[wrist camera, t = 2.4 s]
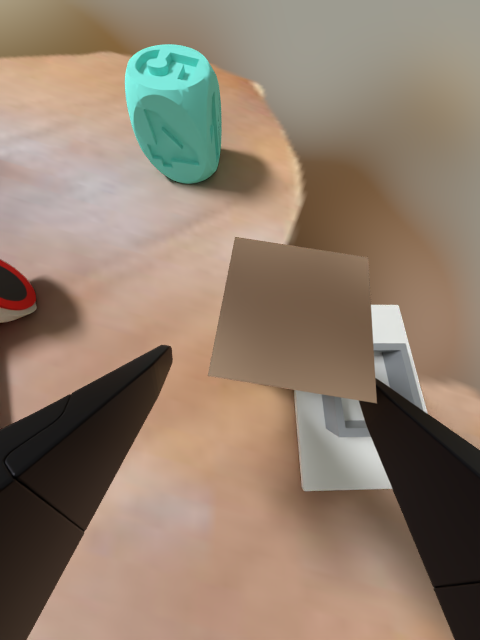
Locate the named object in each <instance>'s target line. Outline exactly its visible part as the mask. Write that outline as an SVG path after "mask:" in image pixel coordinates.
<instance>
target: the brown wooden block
mask: <svg viewBox="0 0 480 640" xmlns="http://www.w3.org/2000/svg"><path fill="white" fill-rule="evenodd" d="M369 281H370V280H369V264H368V257H362V256H355V255H349V254H342V253H336V252H329V251H323V250H316V249H310V248H303V247H297V246H290V245H284V244H277V243H271V242H265V241H258V240H252V239H245V238H239V237H235V240H234V245H233V250H232V256H231V261H230V266H229V271H228V276H227V281H226V286H225V291H224V296H223V301H222V306H221V311H220V316H219V322H218V327H217V332H216V337H215V342H214V347H213V352H212V357H211V362H210V367H209V372H208V376H212V377H218V378H224V379H230V380H236V381H242V382H249V383H255V384H261V385H267V386H273V387H279V388H286V389H292V390H298V391H304V392H310V393H316V394H323V395H329V396H335V397H341V398H347V399H353V400H360V401H366V402H372V403H377V398H376V381H375V364H374V347H373V330H372V314H371V297H370V282H369Z"/></svg>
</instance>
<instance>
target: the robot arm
mask: <svg viewBox="0 0 480 640" xmlns="http://www.w3.org/2000/svg"><path fill="white" fill-rule="evenodd" d="M172 360H173V358H172V348H171V346H167V345H160V346H158V347H157V348H155V349H153V350H151V351H149V352H147V353H145V354H144V355H142V356H140V357H138V358H136V359H134V360H132V361H131V362H129V363H127V364H125V365H123V366H121V367H119V368H118V369H116V370H114V371H112V372H110V373H108V374H106V375H105V376H103V377H101V378H99V379H97V380H95V381H93V382H92V383H90V384H88V385H86V386H84V387H82V388H80V389H79V390H77V391H75V392H73V393H72V394H69V395H67V396H65V397H64V398H62V399H60V400H58V401H56V402H54V403H52V404H50V405H49V406H47V407H45V408H43V409H41V410H39V411H37V412H35V413H33V414H31V415H29V416H27V417H25V418H23V419H21V420H19V421H17V422H15V423H13V424H11V425H9V426H7V427H5V428H2V429H0V640H27V638H28V636H29V634H30V632H31V630H32V629H33V627H34V625H35V623H36V621H37V619H38V617H39V616H40V614H41V612H42V610H43V608H44V606H45V605H46V603H47V601H48V599H49V597H50V595H51V594H52V592H53V590H54V588H55V586H56V584H57V582H58V581H59V579H60V577H61V575H62V573H63V571H64V570H65V568H66V566H67V564H68V562H69V560H70V558H71V557H72V555H73V553H74V551H75V549H76V547H77V546H78V544H79V542H80V540H81V538H82V536H83V535H84V531H85V530H86V529H87V527H88V525H89V523H90V521H91V519H92V518H93V516H94V514H95V512H96V510H97V508H98V507H99V505H100V503H101V501H102V499H103V497H104V495H105V494H106V492H107V490H108V488H109V486H110V484H111V483H112V481H113V479H114V477H115V475H116V473H117V472H118V470H119V468H120V466H121V464H122V462H123V460H124V459H125V457H126V455H127V453H128V451H129V449H130V448H131V446H132V444H133V442H134V440H135V438H136V437H137V435H138V433H139V431H140V429H141V427H142V425H143V424H144V422H145V420H146V418H147V416H148V414H149V413H150V411H151V409H152V407H153V405H154V403H155V402H156V400H157V398H158V396H159V394H160V391H161V389H162V387H163V384H164V382H165V379H166V377H167V374H168V372H169V370H170V367H171V365H172ZM375 381H376V398H377V403H372V402H366V401H360V400H359V404H360V407H361V410H362V413H363V417H364V420H365V423H366V426H367V429H368V431H369V434H370V436H371V438H372V441H373V443H374V446H375V448H376V450H377V453H378V455H379V458H380V460H381V463H382V465H383V467H384V470H385V472H386V475H387V477H388V479H389V482H390V484H391V487H392V489H393V491H394V494H395V496H396V499H397V501H398V504H399V506H400V508H401V511H402V513H403V516H404V518H405V520H406V523H407V525H408V528H409V530H410V532H411V535H412V537H413V540H414V542H415V544H416V547H417V549H418V552H419V554H420V557H421V559H422V561H423V564H424V566H425V569H426V571H427V573H428V576H429V578H430V581H431V583H432V585H433V587H434V591H435V593H436V596H437V598H438V600H439V603H440V605H441V608H442V610H443V613H444V615H445V617H446V620H447V622H448V625H449V627H450V629H451V632H452V634H453V637H454V639H455V640H480V450H479V449H477V448H476V447H474V446H473V445H472V444H470V443H469V442H467V441H466V440H464V439H463V438H462V437H460V436H459V435H457V434H456V433H454V432H453V431H451V430H450V429H449V428H447V427H446V426H444V425H443V424H441V423H440V422H439V421H437V420H436V419H434V418H433V417H431V416H430V415H429V414H427V413H426V412H424V411H423V410H421V409H420V408H419V407H417V406H416V405H414V404H413V403H411V402H410V401H409V400H407V399H406V398H404V397H403V396H401V395H400V394H399V393H397V392H396V391H394V390H393V389H391V388H390V387H388V386H387V385H386V384H384V383H383V382H381V381H380V380H378V379H377V378H375Z"/></svg>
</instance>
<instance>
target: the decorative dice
mask: <svg viewBox="0 0 480 640" xmlns="http://www.w3.org/2000/svg"><path fill="white" fill-rule="evenodd" d="M125 92H126V101H127V107H128V112H129V116H130V120H131V124H132V127H133V130H134V133H135V136H136V138H137V141H138V143H139V145H140V147H141V149H142V151H143V152H144V154H145V155H146V157H147V158H148V159H149V160H150V162H151V163H152V164H153V165H154V166H155V167H156V168H157V169H158V170H159V171H160V172H161V173H163V174H164V175H165V176H167V177H168V178H170V179H172V180H174V181H177V182H180V183H187V184H191V183H198V182H201V181H204V180H206V179H208V178H209V177H210V176H211V175H212V174H213V173H214V172H215V171H216V170H217V167H218V163H219V158H220V149H221V100H220V91H219V84H218V80H217V76H216V74H215V72H214V71H213V69H212V67H211V65H210V64H209V62H208V61H207V59H206V58H205V57H204V56H203V55H202V54H201V53H199V52H198V51H196V50H194V49H191V48H188V47H185V46H180V45H170V44H167V45H156V46H152V47H148V48H145V49H143V50H141V51H139V52H137V53H136V54H135V55H133V56H132V57H131V59H130V60H129V62H128V65H127V69H126V75H125Z"/></svg>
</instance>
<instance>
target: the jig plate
mask: <svg viewBox="0 0 480 640" xmlns="http://www.w3.org/2000/svg"><path fill="white" fill-rule="evenodd" d="M371 314H372V330H373V347H374V364H375V378H377V379H378V380H380V381H381V382H383V383H384V384H386V385H387V386H388V387H390V388H391V389H393V390H394V391H396V392H397V393H399V394H400V395H401V396H403V397H404V398H406V399H407V400H409V401H410V402H411V403H413V404H414V405H416V406H417V407H419V408H420V409H421V410H423V411H424V412H426V413H427V410H426V406H425V402H424V398H423V395H422V391H421V387H420V384H419V380H418V376H417V372H416V369H415V365H414V361H413V358H412V354H411V350H410V346H409V343H408V339H407V335H406V331H405V328H404V324H403V320H402V317H401V313H400V309H399V306H398V305H371ZM294 399H295V412H296V424H297V436H298V448H299V461H300V473H301V485H302V489H303V490H304V491H330V490H365V489H392V487H391V484H390V482H389V479H388V477H387V475H386V472H385V470H384V467H383V465H382V463H381V460H380V458H379V455H378V453H377V450H376V448H375V446H374V443H373V441H372V438H371V436H370V434H369V431H368V429H367V426H366V423H365V420H364V417H363V413H362V410H361V407H360V404H359V400H353V399H347V398H341V397H335V396H329V395H323V394H316V393H310V392H304V391H298V390H294ZM427 414H428V413H427Z"/></svg>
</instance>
